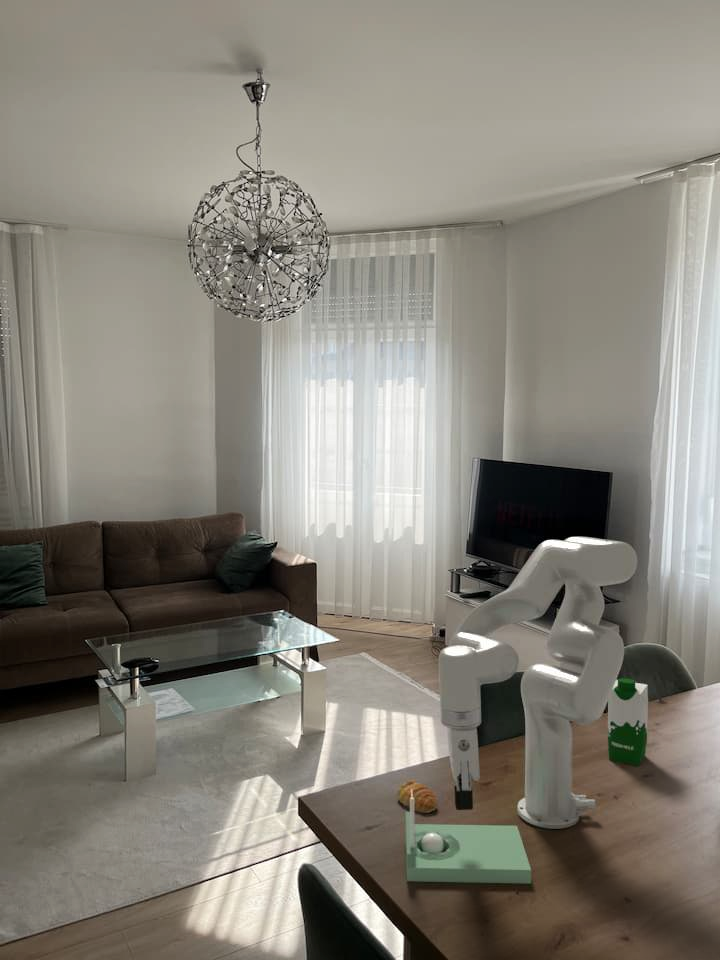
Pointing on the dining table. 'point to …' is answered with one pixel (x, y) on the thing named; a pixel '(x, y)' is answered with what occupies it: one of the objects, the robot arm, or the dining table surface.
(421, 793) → the pastry
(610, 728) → the milk carton
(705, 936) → the dining table surface
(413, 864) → the mat
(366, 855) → the dining table surface
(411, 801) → the flag
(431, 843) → the ball
